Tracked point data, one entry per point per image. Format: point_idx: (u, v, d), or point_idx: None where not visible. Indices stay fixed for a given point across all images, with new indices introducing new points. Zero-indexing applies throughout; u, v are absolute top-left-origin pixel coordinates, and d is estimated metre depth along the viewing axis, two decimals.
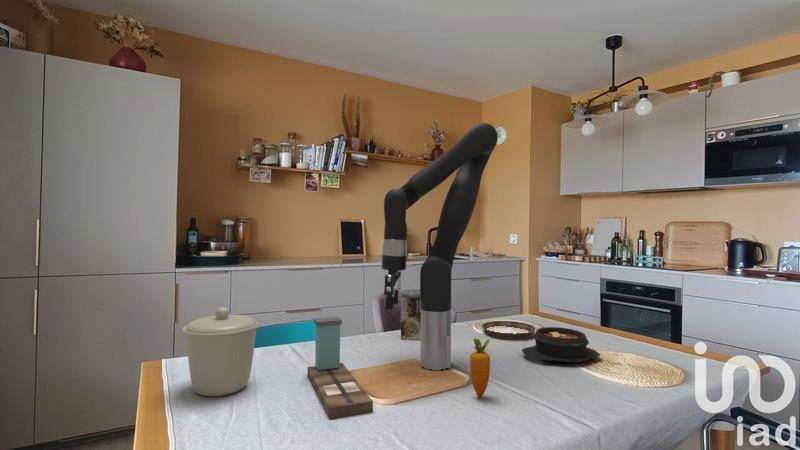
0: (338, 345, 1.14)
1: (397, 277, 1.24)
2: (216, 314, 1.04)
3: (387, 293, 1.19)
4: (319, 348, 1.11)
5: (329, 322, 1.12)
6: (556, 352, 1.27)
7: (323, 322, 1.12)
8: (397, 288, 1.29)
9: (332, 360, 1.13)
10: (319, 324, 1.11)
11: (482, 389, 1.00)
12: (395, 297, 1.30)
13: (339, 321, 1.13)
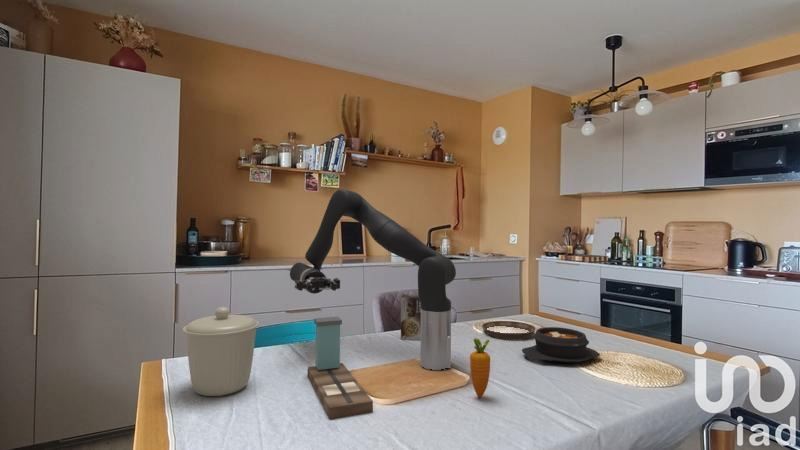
0: (338, 345, 1.14)
1: None
2: (216, 314, 1.04)
3: (298, 286, 1.23)
4: (319, 348, 1.11)
5: (329, 322, 1.12)
6: (556, 352, 1.27)
7: (323, 322, 1.12)
8: (328, 281, 1.27)
9: (332, 360, 1.13)
10: (319, 324, 1.11)
11: (482, 389, 1.00)
12: (332, 285, 1.24)
13: (339, 321, 1.13)
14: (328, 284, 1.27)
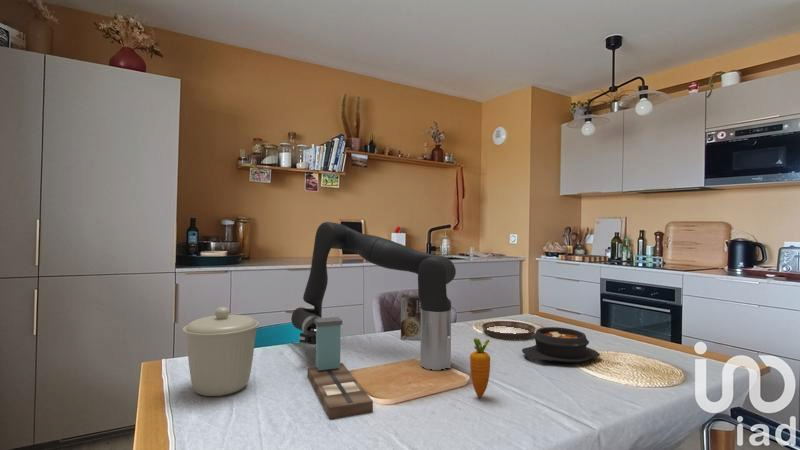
0: (338, 345, 1.13)
1: (313, 330, 1.24)
2: (216, 314, 1.04)
3: (312, 340, 1.19)
4: (319, 348, 1.11)
5: (329, 322, 1.12)
6: (556, 352, 1.27)
7: (323, 322, 1.11)
8: None
9: (333, 361, 1.12)
10: (319, 324, 1.11)
11: (482, 389, 1.00)
12: None
13: (339, 321, 1.13)
14: None
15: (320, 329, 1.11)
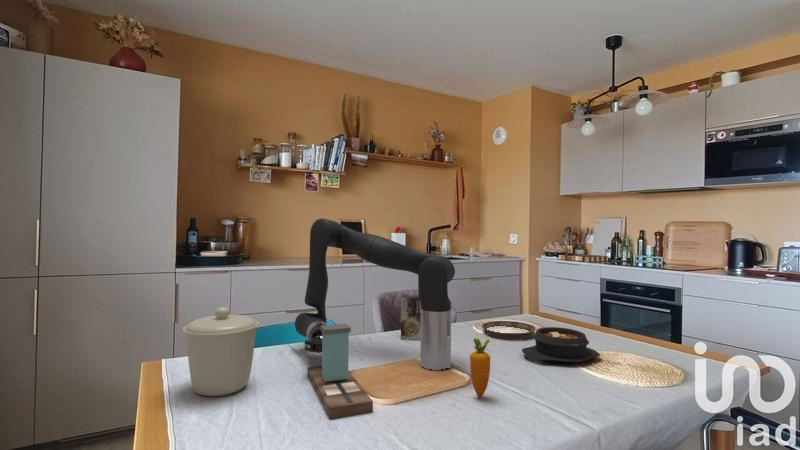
0: (346, 355, 1.05)
1: (319, 337, 1.17)
2: (216, 314, 1.04)
3: (317, 349, 1.11)
4: (326, 358, 1.03)
5: (337, 330, 1.04)
6: (556, 352, 1.27)
7: (330, 330, 1.03)
8: None
9: (340, 371, 1.05)
10: (326, 332, 1.03)
11: (482, 389, 1.00)
12: None
13: (348, 329, 1.05)
14: None
15: (327, 337, 1.03)
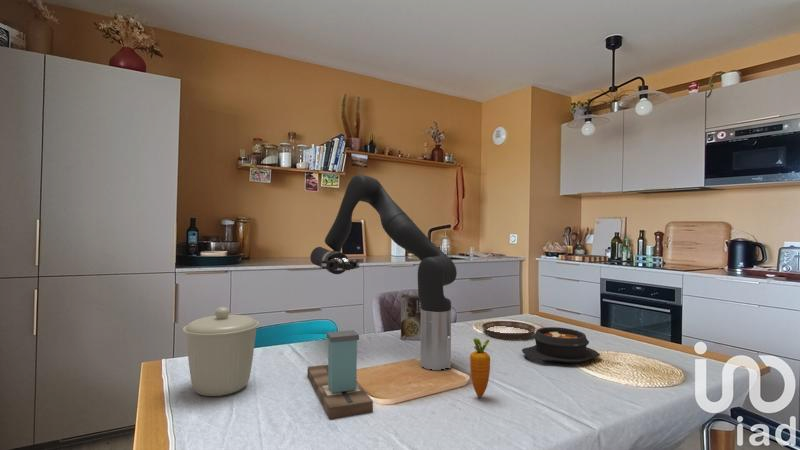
0: (355, 364, 0.98)
1: (334, 259, 1.32)
2: (216, 314, 1.04)
3: (333, 266, 1.27)
4: (333, 368, 0.96)
5: (344, 337, 0.97)
6: (556, 352, 1.27)
7: (337, 337, 0.96)
8: (344, 262, 1.29)
9: (348, 381, 0.98)
10: (333, 340, 0.96)
11: (482, 389, 1.00)
12: None
13: (356, 336, 0.98)
14: None
15: (334, 345, 0.96)
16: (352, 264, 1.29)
